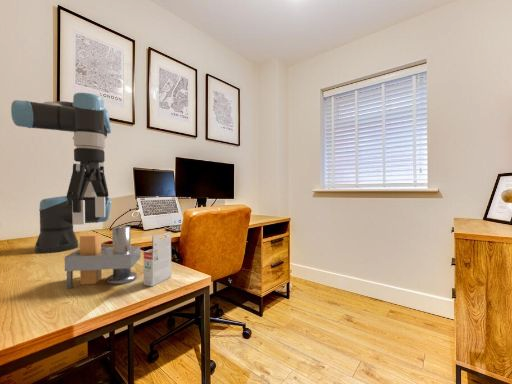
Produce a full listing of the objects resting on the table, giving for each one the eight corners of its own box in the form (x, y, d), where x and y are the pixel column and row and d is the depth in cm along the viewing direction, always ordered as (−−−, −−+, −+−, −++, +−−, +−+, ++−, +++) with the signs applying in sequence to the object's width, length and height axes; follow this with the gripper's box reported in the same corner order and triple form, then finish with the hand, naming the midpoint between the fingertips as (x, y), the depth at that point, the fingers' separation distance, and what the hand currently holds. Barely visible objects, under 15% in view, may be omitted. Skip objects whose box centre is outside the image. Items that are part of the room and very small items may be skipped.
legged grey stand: (140, 273, 83) (140, 224, 82) (130, 285, 73) (130, 230, 72) (83, 276, 80) (82, 225, 79) (65, 289, 70) (64, 231, 69)
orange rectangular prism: (87, 279, 77) (86, 233, 77) (101, 278, 78) (100, 233, 77) (80, 284, 73) (79, 236, 73) (95, 283, 74) (95, 236, 73)
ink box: (142, 285, 73) (142, 235, 72) (162, 275, 80) (162, 230, 80) (152, 287, 72) (152, 236, 71) (171, 277, 79) (171, 231, 78)
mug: (121, 259, 97) (121, 242, 97) (100, 262, 93) (101, 244, 93) (116, 252, 107) (116, 237, 107) (97, 255, 103) (97, 239, 103)
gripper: (94, 152, 86) (95, 214, 87) (48, 141, 61) (50, 228, 62) (118, 153, 87) (119, 214, 88) (82, 143, 63) (83, 228, 64)
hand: (90, 220), depth 75 cm, fingers open, 13 cm apart
